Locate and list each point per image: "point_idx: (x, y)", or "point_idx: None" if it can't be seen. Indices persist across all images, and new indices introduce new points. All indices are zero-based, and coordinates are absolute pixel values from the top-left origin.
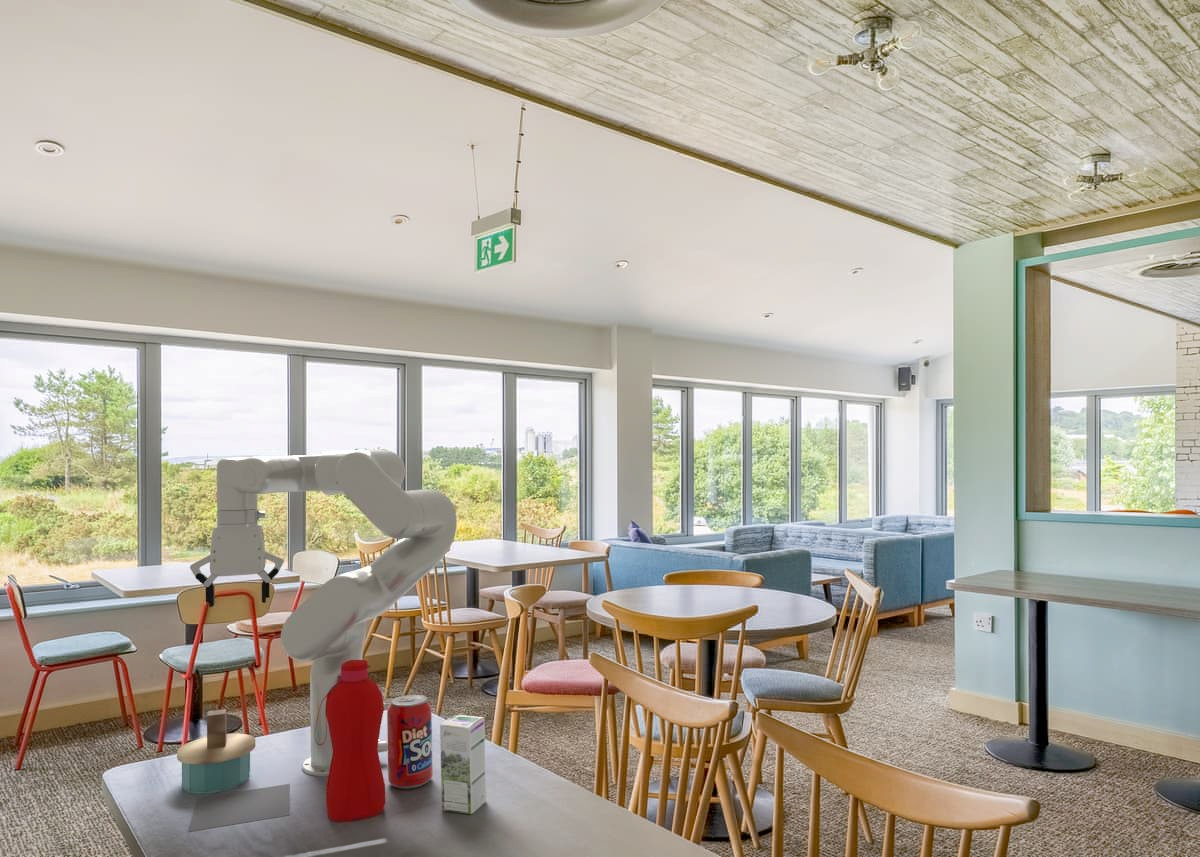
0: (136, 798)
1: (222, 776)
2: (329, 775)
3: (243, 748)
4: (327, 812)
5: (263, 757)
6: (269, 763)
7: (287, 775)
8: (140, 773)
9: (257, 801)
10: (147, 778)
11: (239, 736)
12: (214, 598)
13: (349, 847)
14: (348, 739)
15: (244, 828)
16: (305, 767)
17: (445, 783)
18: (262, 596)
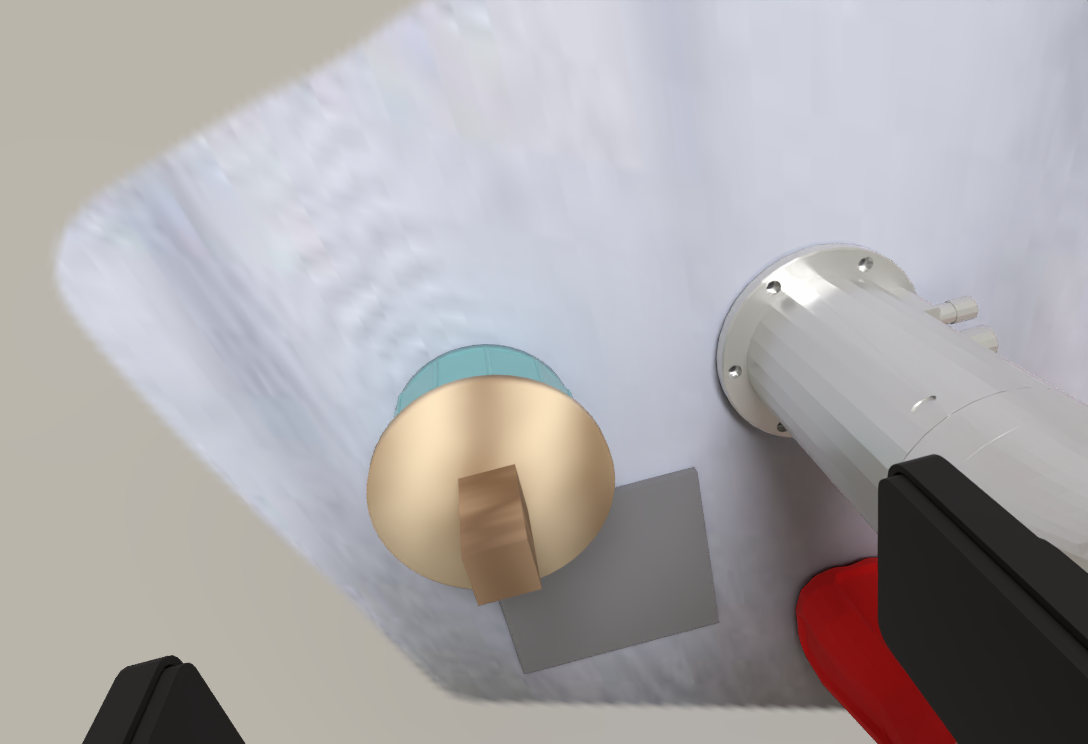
0: (288, 492)
1: None
2: (837, 665)
3: (592, 526)
4: (800, 642)
5: (567, 219)
6: (601, 282)
7: (675, 388)
8: (170, 306)
9: (635, 560)
10: (228, 354)
11: (544, 419)
12: (155, 737)
13: (830, 709)
14: None
15: (631, 646)
16: (733, 395)
17: None
18: (940, 702)
